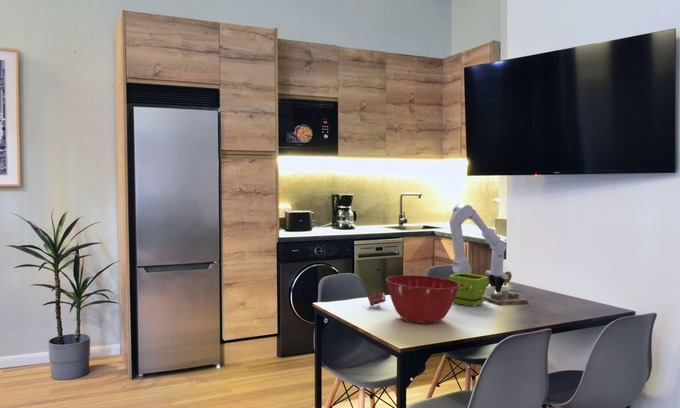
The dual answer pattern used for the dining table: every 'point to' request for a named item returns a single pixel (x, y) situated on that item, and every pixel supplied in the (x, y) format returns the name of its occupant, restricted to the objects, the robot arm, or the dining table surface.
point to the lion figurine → (506, 279)
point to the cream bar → (492, 289)
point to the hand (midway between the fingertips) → (495, 291)
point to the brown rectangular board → (505, 298)
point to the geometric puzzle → (377, 298)
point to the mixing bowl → (422, 297)
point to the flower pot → (469, 288)
